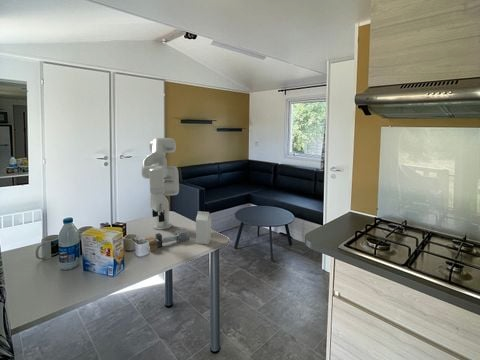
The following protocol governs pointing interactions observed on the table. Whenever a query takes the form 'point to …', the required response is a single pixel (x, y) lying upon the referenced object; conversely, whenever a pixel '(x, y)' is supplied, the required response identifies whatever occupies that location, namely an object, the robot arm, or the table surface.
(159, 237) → the tube
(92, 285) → the table surface
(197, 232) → the milk carton
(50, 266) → the table surface
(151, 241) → the socket block
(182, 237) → the sleeve
